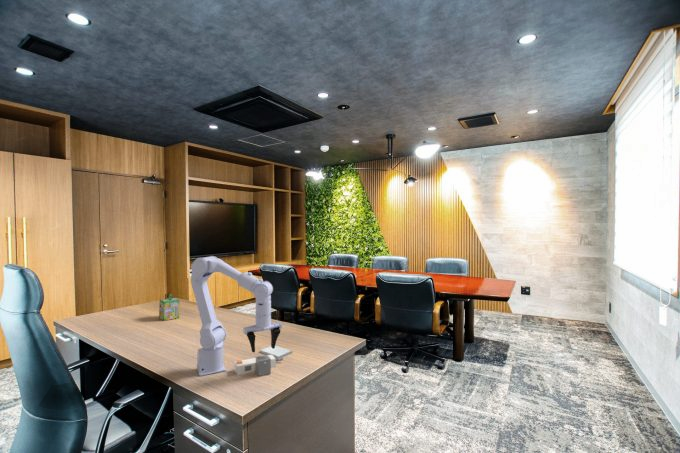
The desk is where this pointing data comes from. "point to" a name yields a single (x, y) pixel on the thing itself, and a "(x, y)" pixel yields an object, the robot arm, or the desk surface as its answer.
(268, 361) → the block
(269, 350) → the hard drive
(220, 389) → the desk surface
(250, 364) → the power strip
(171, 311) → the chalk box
